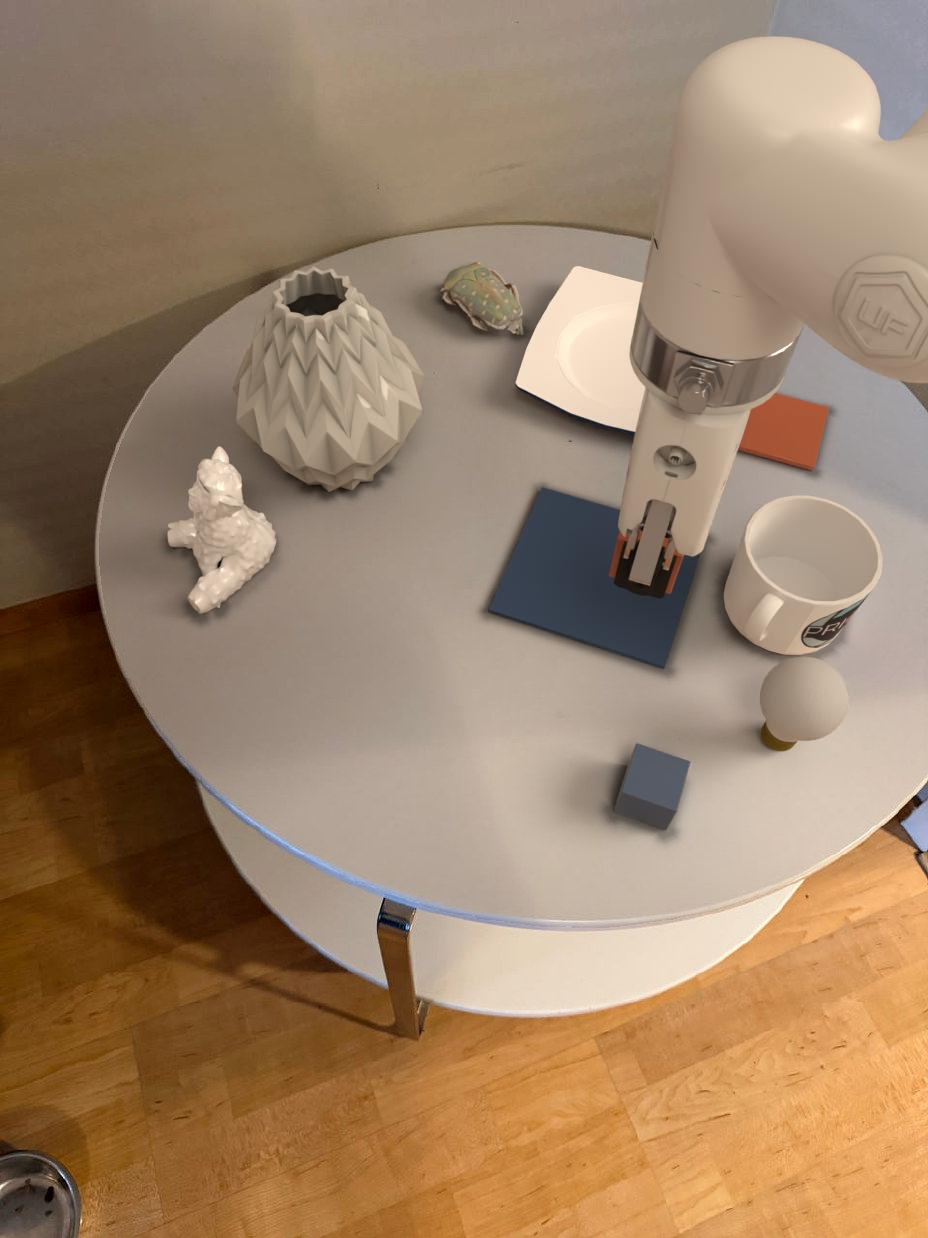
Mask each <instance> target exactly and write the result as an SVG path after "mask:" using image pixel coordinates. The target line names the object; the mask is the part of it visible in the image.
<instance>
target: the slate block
mask: <svg viewBox="0 0 928 1238" xmlns="http://www.w3.org/2000/svg"><path fill="white" fill-rule="evenodd" d="M690 765H691V761H690V760H687V759H684V758H681V757H678V756H676V755H672V754H669V753H667V752H665V751H661V750H658V749H655V748H652V747H650V746H646V745H643V744H640V743H635V746H634V748H633V751H632V752H631V755H630V758H629V761H628V764H627V766H626V769H625V772H624V775H623V779H622V783H621V786H620V789H619V793H618V794H617V795H618V796H617V798H616V802H615V805H614V808H613V812H614V813H616V814H617V815H621V816H624V817H627V818H630V819H633V820H635V821H638V822H641V823H644V824H647V825H649V826H652V827H655V828H658V829H661V830H663V831H667V830H668V828H669V827H670V824H671V823H672V821H673V819H674V817H675V816H676V814H677V812H678V809H679V805H680V801H681V798H682V795H683V791H684V788H685V784H686V780H687V776H688V774H689V773H688V772H689V769H690Z"/></svg>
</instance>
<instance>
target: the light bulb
mask: <svg viewBox="0 0 928 1238" xmlns="http://www.w3.org/2000/svg"><path fill="white" fill-rule="evenodd" d="M849 703H850V697H849V691H848V686H847V684H846V682H845V680H844V678H843V677H842V675H841V673H840V672H839V671H838V670H837V669H836V668H835V667H834V666H832V665H831V664H830V663H828V662H826V661H824V660H823V659H819V658H816V657H811V656H794V657H790V658H787V659H785V660H782V661H780V662H778V663H777V664H776V665H775V666H773V668H771V669H770V670H769V671H768V673H767V674H766V676H765V677H764V679H763V681H762V683H761V686H760V690H759V705H760V706H759V707H760V709H761V712H762V715H763V717H764V720H765V721H764V723H763V725H762V726H761V729H760V737H761V740H762V741H763V743H764V744H765V745H766V747H768V749H771V750H773V751H776V752H786V751H789V750H791V749H792V748H793V747H794V746H795V745H796V744H797V743H798V742H801V741H802V742H810V741H817V740H820V739H823V738H825V737H827V736H829V735H831V734H832V733H834V731H836V730H837V729H838V728H839V727H840V726H841V724H842V723H843V722H844V720H845V718H846V716H847V712H848V710H849Z"/></svg>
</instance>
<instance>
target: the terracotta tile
mask: <svg viewBox="0 0 928 1238" xmlns="http://www.w3.org/2000/svg"><path fill="white" fill-rule="evenodd" d="M829 409H830V407H829V406H825V405H822V404H818V403H816V402H815V403H814V402H810V401H807V400H804V399H800V398H795V397H793V396H792V397H791V396H788V395H785V394H781V393H777V392H776V393H775V394H774V395H773V396H772V397H771V398H770V399H768V400H767V401H766V402H764V403H763V404H761V405H759V406H757V407H755V408H753V409H751V411H750V414H749V417H748V421H747V424H746V427H745V430H744V433H743V436H742V439H741V442H740V445H739V448H738V451H739V452H742V453H746V454H750V455H754V456H758V457H760V458H765V459H768V460H772V461H775V462H778V463H782V464H786V465H790V466H793V467H797V468H800V469H805V470H808V471H814V470H815V466H816V462H817V458H818V454H819V452H820V451H819V450H820V446H821V443H822V437H823V434H824V430H825V425H826V423H827V422H826V421H827V418H828V414H829Z"/></svg>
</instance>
